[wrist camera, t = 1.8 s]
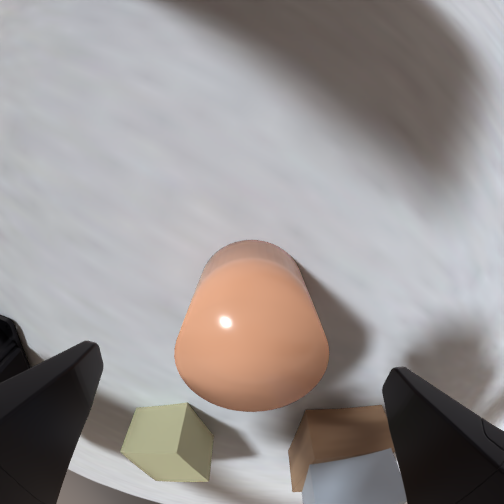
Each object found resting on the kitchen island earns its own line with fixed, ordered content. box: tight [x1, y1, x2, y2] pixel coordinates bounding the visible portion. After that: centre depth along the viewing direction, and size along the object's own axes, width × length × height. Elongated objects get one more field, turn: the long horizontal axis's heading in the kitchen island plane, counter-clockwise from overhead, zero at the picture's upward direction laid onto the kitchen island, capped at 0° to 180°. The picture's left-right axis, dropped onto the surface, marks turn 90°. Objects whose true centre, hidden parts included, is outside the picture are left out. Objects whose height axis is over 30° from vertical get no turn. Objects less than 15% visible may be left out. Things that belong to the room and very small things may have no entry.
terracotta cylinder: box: [174, 240, 329, 412], centre depth 10 cm, size 5×5×5 cm
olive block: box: [120, 403, 214, 482], centre depth 14 cm, size 4×4×4 cm
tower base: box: [288, 405, 395, 492], centre depth 15 cm, size 6×6×4 cm
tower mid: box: [302, 448, 407, 504], centre depth 11 cm, size 5×5×4 cm
